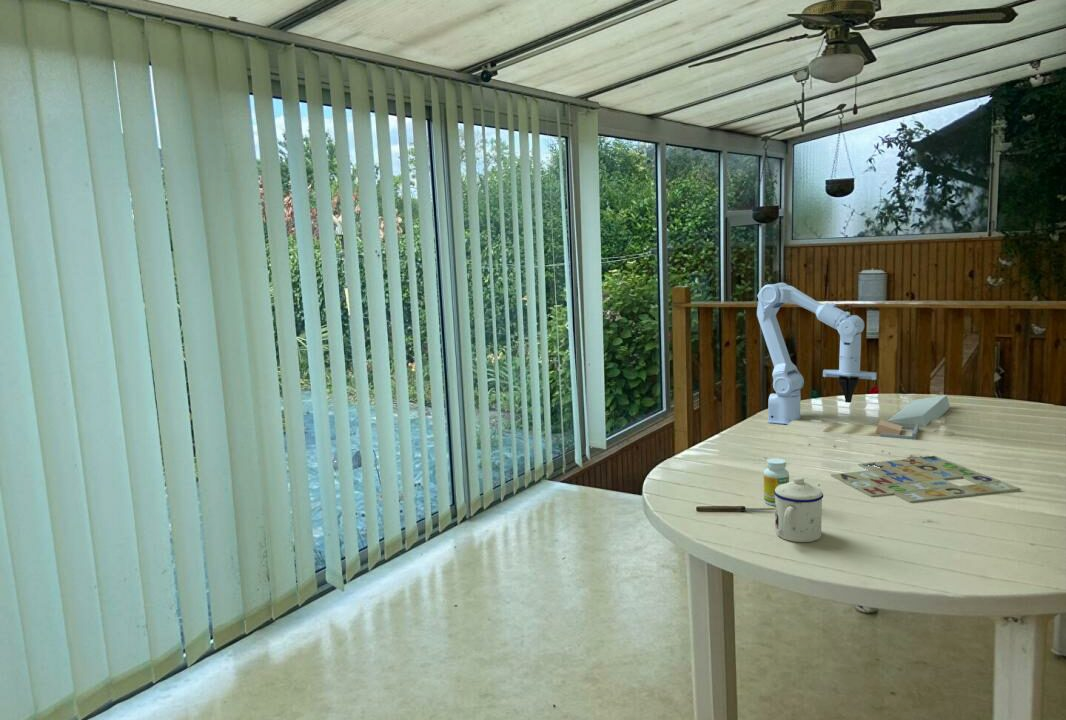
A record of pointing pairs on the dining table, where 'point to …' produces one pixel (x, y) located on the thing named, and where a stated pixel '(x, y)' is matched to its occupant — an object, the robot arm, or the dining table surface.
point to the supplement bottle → (774, 478)
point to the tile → (888, 428)
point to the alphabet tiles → (921, 480)
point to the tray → (913, 437)
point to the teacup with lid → (798, 511)
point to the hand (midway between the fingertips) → (848, 401)
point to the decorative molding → (922, 411)
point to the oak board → (852, 429)
